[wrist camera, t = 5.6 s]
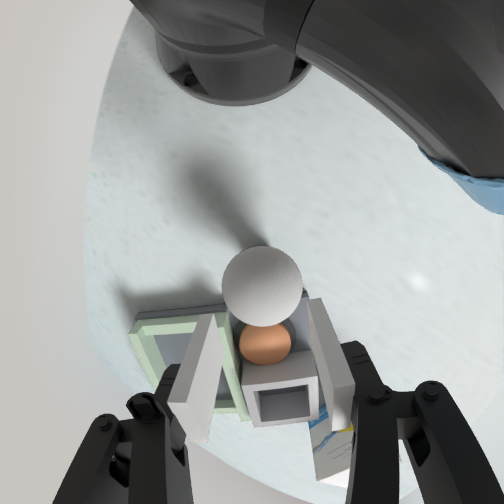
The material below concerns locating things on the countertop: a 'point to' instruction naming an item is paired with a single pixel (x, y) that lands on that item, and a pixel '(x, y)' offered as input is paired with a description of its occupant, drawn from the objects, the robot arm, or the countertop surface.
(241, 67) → the robot arm
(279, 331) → the checker pad
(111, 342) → the countertop surface
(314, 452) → the ink box
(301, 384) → the compartment tray
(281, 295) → the light bulb
